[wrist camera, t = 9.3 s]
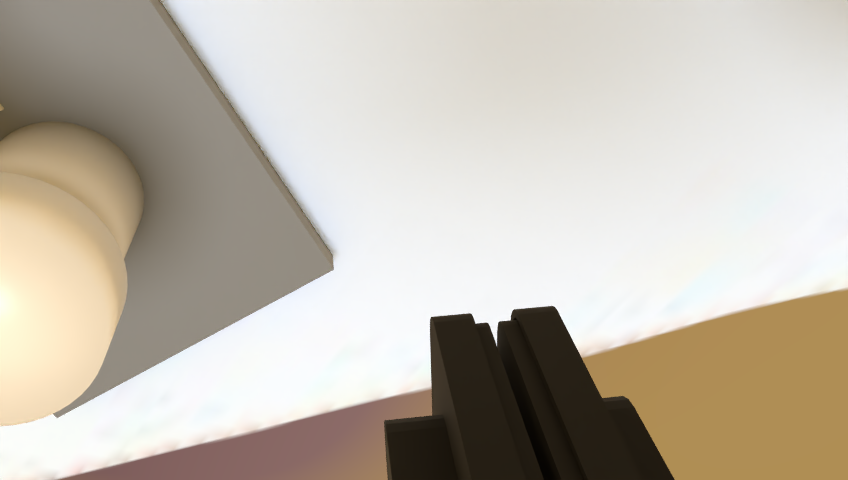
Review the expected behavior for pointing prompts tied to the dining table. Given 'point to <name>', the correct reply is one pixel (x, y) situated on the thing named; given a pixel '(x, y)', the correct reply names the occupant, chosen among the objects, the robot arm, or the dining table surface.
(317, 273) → the base
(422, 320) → the dining table surface
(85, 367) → the cream piece
